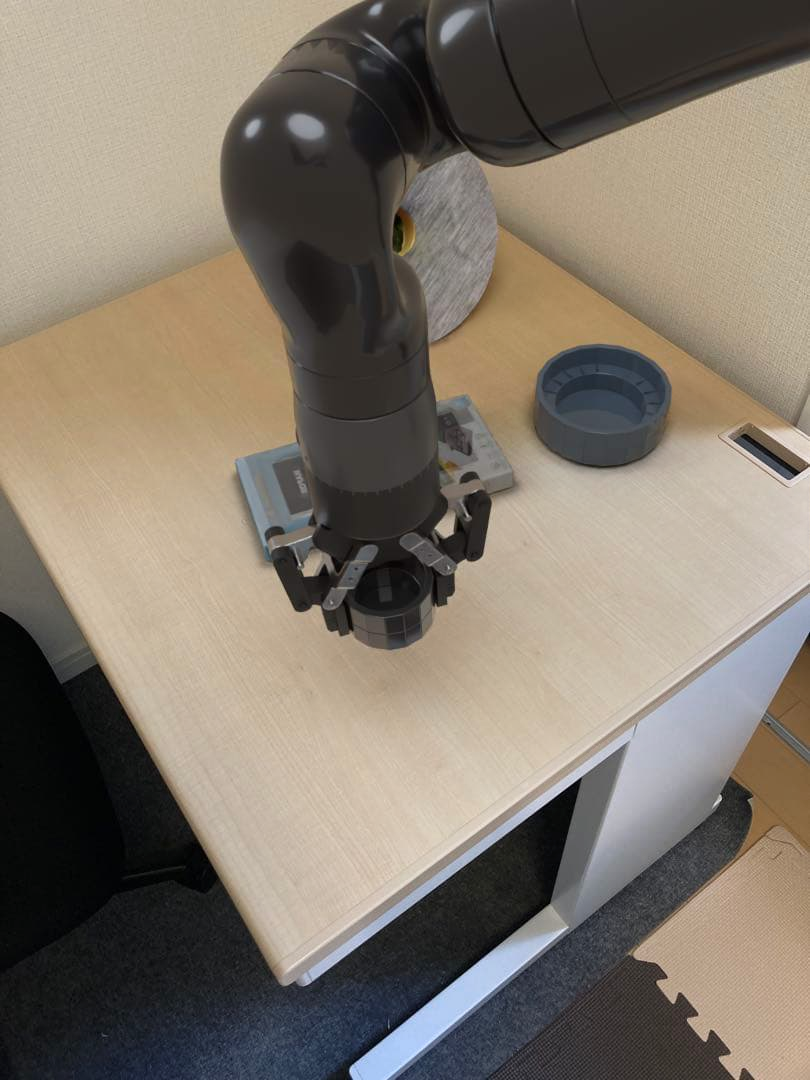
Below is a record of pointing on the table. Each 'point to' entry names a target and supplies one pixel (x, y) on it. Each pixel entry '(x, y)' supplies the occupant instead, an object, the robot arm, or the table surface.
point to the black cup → (392, 604)
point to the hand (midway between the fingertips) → (390, 610)
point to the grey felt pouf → (448, 238)
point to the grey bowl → (601, 404)
